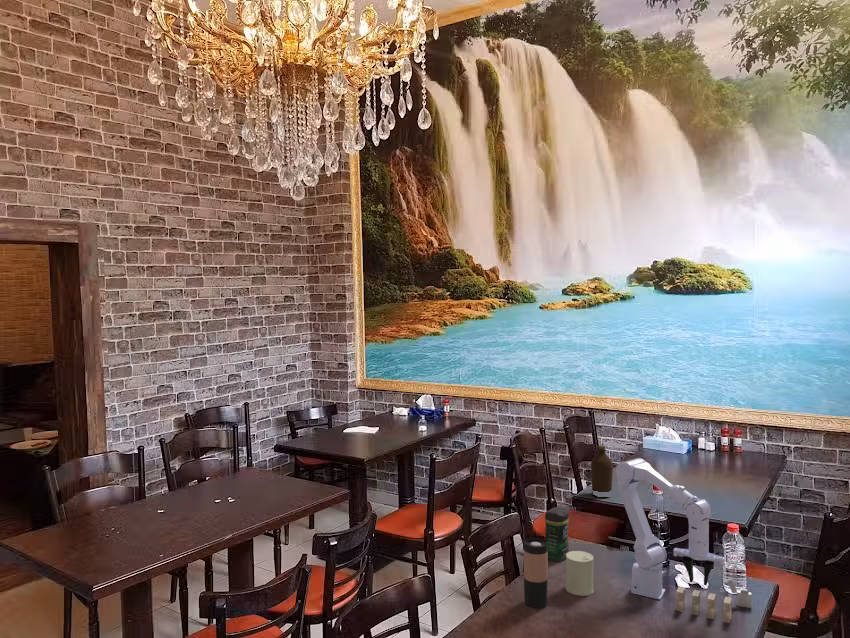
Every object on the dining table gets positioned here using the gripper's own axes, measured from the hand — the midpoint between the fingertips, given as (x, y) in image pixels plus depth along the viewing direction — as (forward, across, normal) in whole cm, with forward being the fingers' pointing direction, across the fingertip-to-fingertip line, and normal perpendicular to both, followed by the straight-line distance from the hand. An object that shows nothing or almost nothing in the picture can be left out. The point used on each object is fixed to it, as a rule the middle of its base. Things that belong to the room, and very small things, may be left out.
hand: (698, 582), depth 198 cm
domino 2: (+10, -1, 0) cm, 10 cm away
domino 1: (+10, -5, 0) cm, 11 cm away
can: (+10, -37, -4) cm, 38 cm away
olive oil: (+9, -60, +102) cm, 119 cm away
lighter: (+10, +10, +12) cm, 19 cm away
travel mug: (+10, -46, -21) cm, 51 cm away
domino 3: (+10, +4, 0) cm, 10 cm away
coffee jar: (+10, -53, +18) cm, 57 cm away
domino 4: (+10, +8, 0) cm, 13 cm away
